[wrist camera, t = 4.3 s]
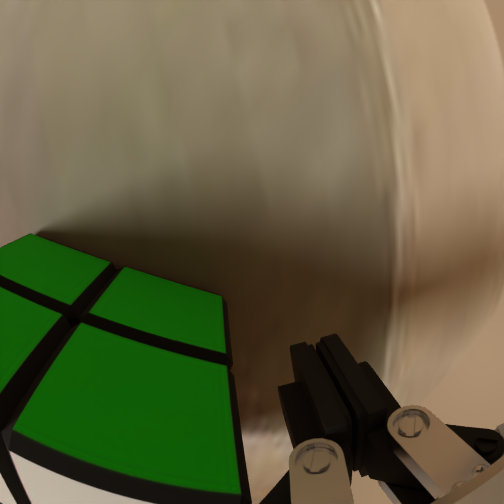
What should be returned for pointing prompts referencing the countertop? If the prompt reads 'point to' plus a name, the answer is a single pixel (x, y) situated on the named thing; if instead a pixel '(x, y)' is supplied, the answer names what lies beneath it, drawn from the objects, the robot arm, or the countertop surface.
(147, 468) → the puzzle cube
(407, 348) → the countertop surface
